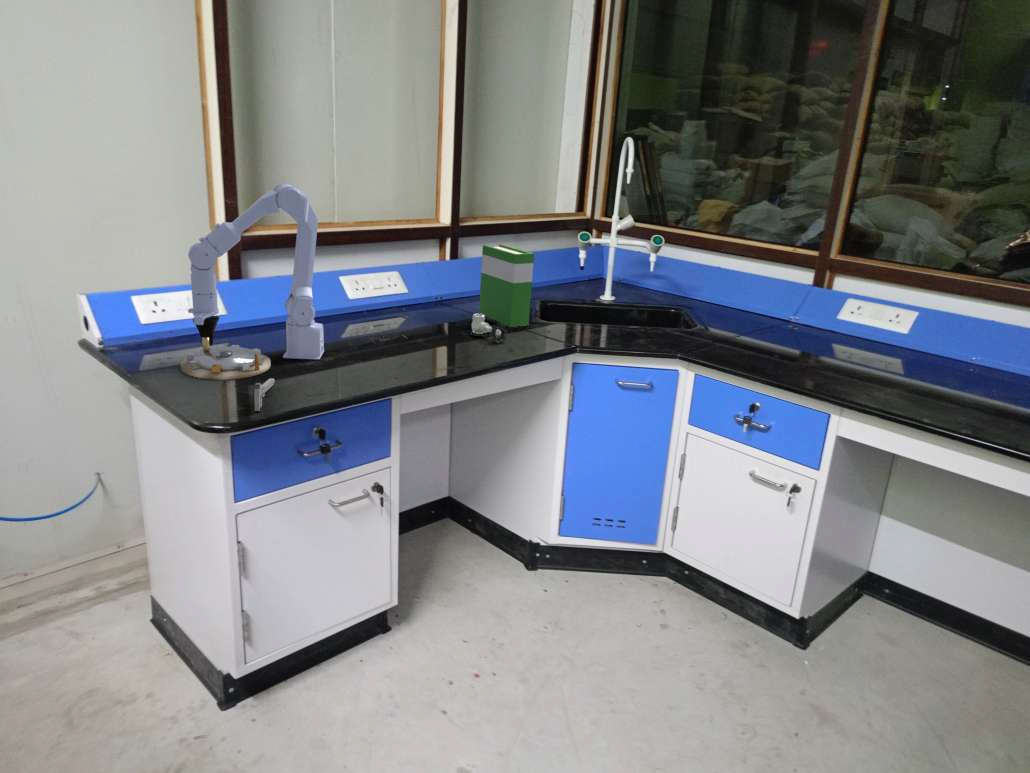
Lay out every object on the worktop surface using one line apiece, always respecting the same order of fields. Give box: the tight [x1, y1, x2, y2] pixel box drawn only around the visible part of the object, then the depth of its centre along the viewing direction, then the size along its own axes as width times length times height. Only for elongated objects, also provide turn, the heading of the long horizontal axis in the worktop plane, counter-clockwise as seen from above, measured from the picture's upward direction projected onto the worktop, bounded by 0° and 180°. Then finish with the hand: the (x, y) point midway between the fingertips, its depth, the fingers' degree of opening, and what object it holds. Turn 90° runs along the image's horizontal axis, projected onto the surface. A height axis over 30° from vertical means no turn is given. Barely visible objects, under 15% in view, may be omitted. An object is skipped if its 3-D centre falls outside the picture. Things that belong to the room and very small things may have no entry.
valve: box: [471, 313, 509, 343], centre depth 230 cm, size 7×7×12 cm
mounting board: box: [180, 353, 272, 381], centre depth 190 cm, size 21×21×5 cm
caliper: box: [253, 378, 276, 412], centre depth 172 cm, size 20×1×6 cm, turn 8°
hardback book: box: [478, 243, 535, 327], centre depth 248 cm, size 18×7×24 cm, turn 37°
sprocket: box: [186, 336, 265, 373], centre depth 189 cm, size 18×18×5 cm
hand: (207, 345), depth 193 cm, fingers closed
